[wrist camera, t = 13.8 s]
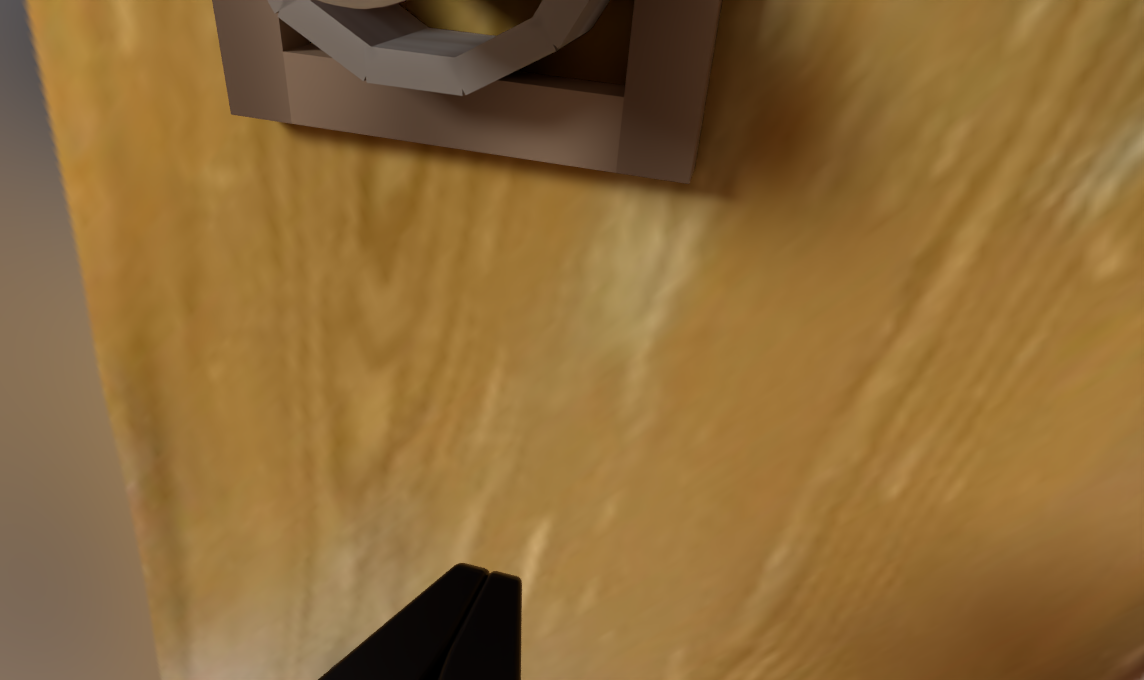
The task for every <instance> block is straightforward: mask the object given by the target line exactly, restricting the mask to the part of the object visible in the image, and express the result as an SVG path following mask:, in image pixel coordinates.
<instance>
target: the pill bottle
mask: <svg viewBox="0 0 1144 680" xmlns="http://www.w3.org/2000/svg"><path fill="white" fill-rule="evenodd" d="M318 1H321V2H324V3H328V4H332V5H337V6H342V7H348V8H355V9H371V8H382V7H387V6H391V5H395V4H398V3H402V2H404V1H406V0H318Z"/></svg>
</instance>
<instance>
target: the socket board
mask: <svg viewBox="0 0 1144 680" xmlns="http://www.w3.org/2000/svg"><path fill="white" fill-rule="evenodd" d="M609 1H610V0H542V2H541V4H540V5H539V7H538V9H537V10H536V12H535V14H534V16H533V17H532V18H530V19H528V20H527V21H525V22H523V23H521V24H519V25H517V26H515V27H513V28H511V29H509V30H507V31H505V32H503V33H501V34H500V35H498V36H492V35H484V34H476V33H468V32H460V31H452V30H444V29H435V28H428V27H427V26H426V25H425V24H423V23H422V22H421V21H419V20H418V19H417V18H416V17H414V16H413V15H412V14H410V13H409V12H408V11H406V10H405V9H404V8H403V7H401V6H400V5H399V4H395V5H391V6H387V7H382V8H371V9H355V8H348V7H342V6H337V5H332V4H328V3H324V2H321V1H318V0H212V2H213V8H214V14H215V20H216V26H217V32H218V38H219V44H220V50H221V56H222V62H223V68H224V74H225V80H226V86H227V92H228V99H229V105H230V111H231V114H232V115H238V116H245V117H252V118H258V119H265V120H271V121H278V122H284V123H291V124H298V125H304V126H311V127H317V128H324V129H330V130H337V131H344V132H350V133H357V134H363V135H370V136H377V137H383V138H390V139H396V140H403V141H409V142H416V143H423V144H429V145H436V146H442V147H449V148H456V149H462V150H469V151H475V152H482V153H488V154H495V155H502V156H508V157H515V158H521V159H528V160H534V161H541V162H548V163H554V164H561V165H567V166H574V167H581V168H587V169H594V170H600V171H607V172H613V173H620V174H627V175H633V176H640V177H646V178H653V179H660V180H666V181H673V182H679V183H686V184H690V181H691V178H692V175H693V172H694V169H695V164H696V157H697V151H698V145H699V139H700V133H701V127H702V121H703V115H704V109H705V103H706V97H707V91H708V85H709V79H710V73H711V66H712V60H713V54H714V48H715V42H716V36H717V30H718V24H719V18H720V12H721V6H722V0H634V9H633V19H632V28H631V37H630V47H629V56H628V65H627V74H626V84H625V85H618V84H610V83H603V82H595V81H587V80H580V79H572V78H564V77H557V76H549V75H542V74H534V73H526V72H519V71H517V70H519V69H521V68H523V67H525V66H527V65H529V64H531V63H533V62H535V61H537V60H539V59H541V58H543V57H545V56H547V55H549V54H551V53H553V52H555V51H557V50H559V49H560V48H562V47H564V46H565V45H567V44H568V43H570V42H572V41H573V40H575V39H577V38H578V37H580V36H581V35H583V34H585V33H586V32H588V31H589V30H590V29H592V27H593V26H594V24H595V23H596V21H597V20H598V18H599V16H600V15H601V13H602V12H603V10H604V9H605V7H606V6H607V4H608V3H609ZM309 41H311V42H312V43H313V44H315V45H313V44H309Z"/></svg>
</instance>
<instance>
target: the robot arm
mask: <svg viewBox="0 0 1144 680" xmlns="http://www.w3.org/2000/svg"><path fill="white" fill-rule="evenodd" d="M521 608H522V582H521V579H520V578H519V577H517V576H514V575H510V574H506V573H502V572H498V571H493V572H491V573H489V571H488V570H487V569H485V568H482V567H478V566H474V565H470V564H466V563H459V564H457V565H455V566H453V567H452V568H451V569H450V570H449V571H447V572H446V573H445V574H444V575H443V576H441V577H440V578H439V579H438V580H437V581H435V582H434V583H433V584H432V585H431V586H429V587H428V588H427V589H426V590H425V591H423V592H422V593H421V594H420V595H419V596H418V597H416V598H415V599H414V600H413V601H412V602H410V603H409V604H408V605H407V606H406V607H404V608H403V609H402V610H401V611H400V612H398V613H397V614H396V615H395V616H394V617H392V618H391V619H390V620H389V621H388V622H386V623H385V624H384V625H383V626H382V627H380V628H379V629H378V630H377V631H376V632H374V633H373V634H372V635H371V636H370V637H368V638H367V639H366V640H365V641H364V642H362V643H361V644H360V645H359V646H358V647H357V648H355V649H354V650H353V651H352V652H351V653H349V654H348V655H347V656H346V657H345V658H343V659H342V660H341V661H340V662H339V663H337V664H336V665H335V666H334V667H333V668H331V669H330V670H329V671H328V672H327V673H325V674H324V675H323V676H322V677H321V678H319V679H318V680H521Z"/></svg>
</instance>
